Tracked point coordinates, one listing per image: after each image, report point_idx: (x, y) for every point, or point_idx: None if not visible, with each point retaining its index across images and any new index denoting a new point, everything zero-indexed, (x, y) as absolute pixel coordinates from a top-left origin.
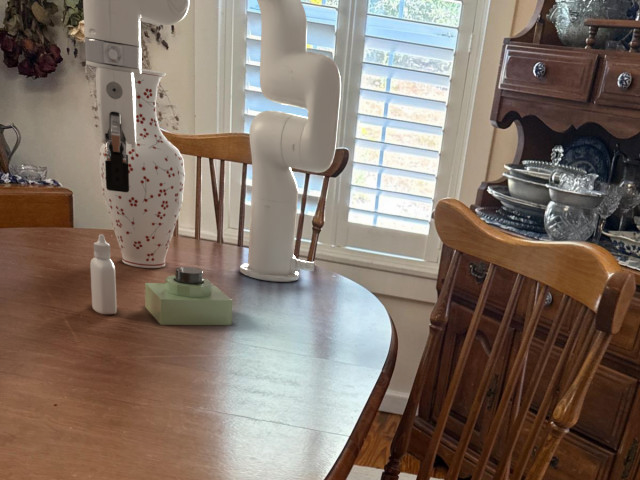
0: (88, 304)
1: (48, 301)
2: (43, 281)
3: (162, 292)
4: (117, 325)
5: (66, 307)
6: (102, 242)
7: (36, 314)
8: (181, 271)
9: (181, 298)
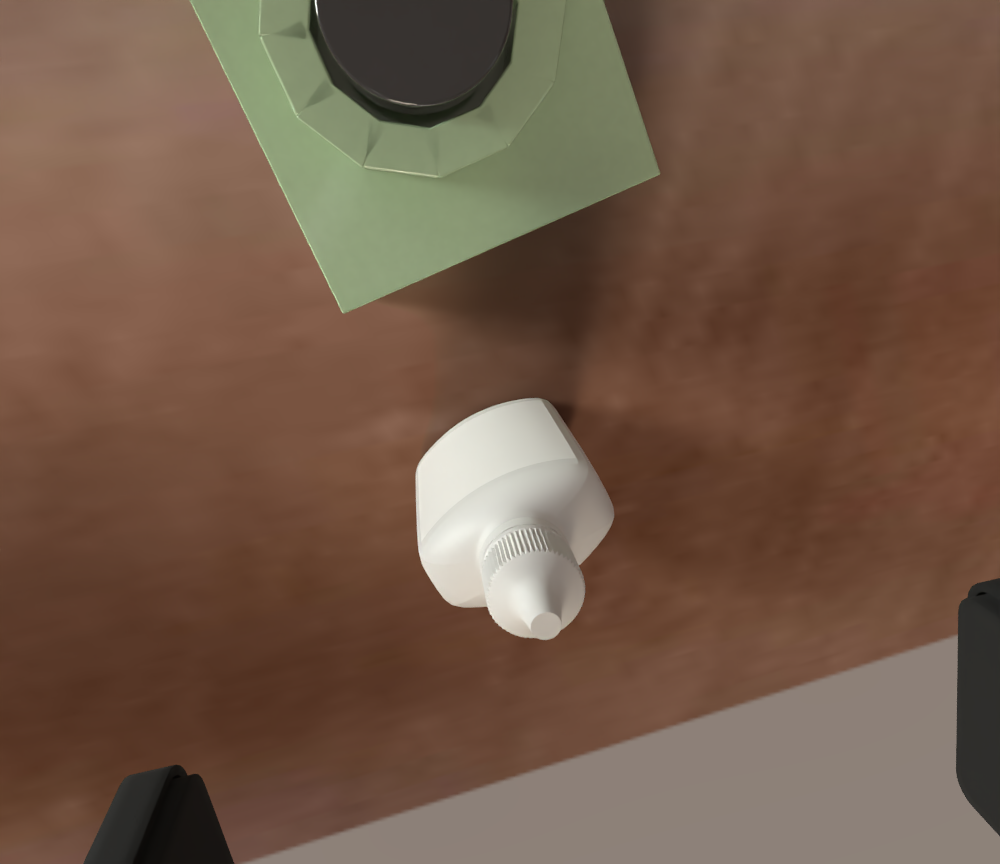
0: None
1: (452, 670)
2: None
3: (517, 185)
4: (690, 357)
5: None
6: (562, 592)
7: (646, 652)
8: (486, 52)
9: (599, 58)
